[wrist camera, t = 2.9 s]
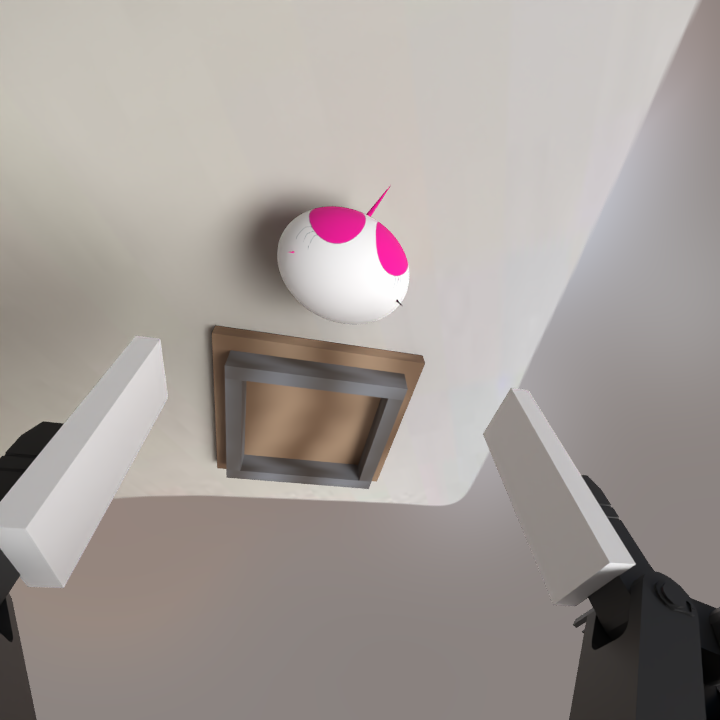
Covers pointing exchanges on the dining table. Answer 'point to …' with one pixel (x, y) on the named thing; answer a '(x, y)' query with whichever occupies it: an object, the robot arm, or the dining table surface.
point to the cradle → (307, 407)
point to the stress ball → (343, 264)
